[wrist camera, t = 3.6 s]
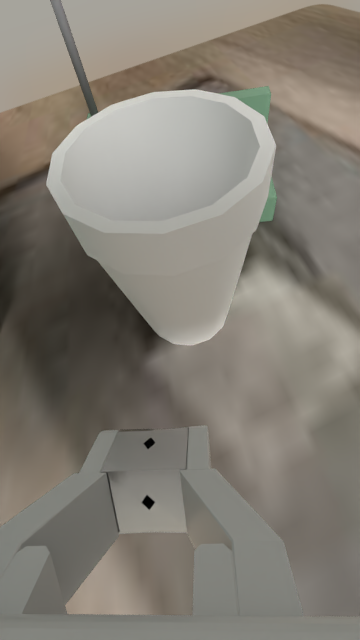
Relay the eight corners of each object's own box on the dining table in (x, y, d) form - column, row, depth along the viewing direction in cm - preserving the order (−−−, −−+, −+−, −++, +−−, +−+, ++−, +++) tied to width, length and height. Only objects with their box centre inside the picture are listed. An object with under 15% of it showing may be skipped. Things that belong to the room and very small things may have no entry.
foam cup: (190, 245, 27) (166, 71, 16) (274, 304, 23) (324, 131, 12) (107, 313, 24) (8, 166, 13) (185, 392, 21) (140, 281, 9)
